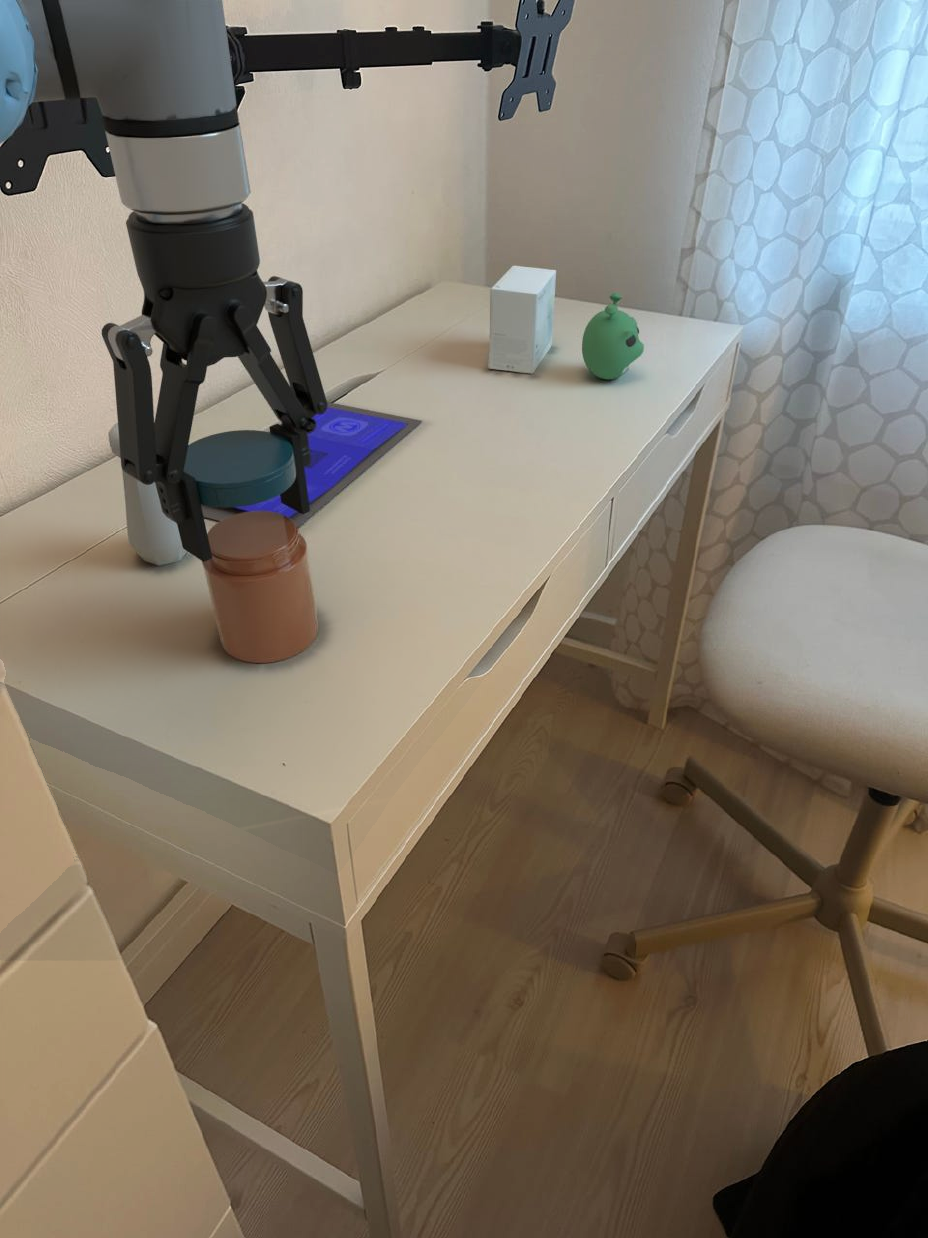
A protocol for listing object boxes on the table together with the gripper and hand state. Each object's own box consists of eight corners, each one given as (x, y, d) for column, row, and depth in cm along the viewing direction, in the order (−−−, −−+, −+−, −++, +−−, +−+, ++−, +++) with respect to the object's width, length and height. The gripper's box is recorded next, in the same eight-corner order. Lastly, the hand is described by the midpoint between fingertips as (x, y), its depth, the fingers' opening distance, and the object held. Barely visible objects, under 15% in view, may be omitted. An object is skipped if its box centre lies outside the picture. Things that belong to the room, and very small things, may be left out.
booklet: (408, 423, 104) (408, 417, 104) (285, 526, 86) (284, 520, 86) (319, 405, 108) (318, 400, 108) (184, 500, 91) (183, 494, 90)
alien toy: (637, 391, 111) (645, 310, 105) (575, 385, 112) (580, 305, 106) (643, 369, 116) (651, 291, 110) (584, 364, 118) (589, 287, 112)
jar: (223, 671, 70) (198, 570, 64) (218, 612, 76) (196, 514, 70) (324, 653, 71) (310, 552, 66) (312, 596, 78) (298, 500, 72)
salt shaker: (209, 541, 85) (180, 413, 77) (178, 574, 81) (144, 443, 73) (154, 533, 86) (120, 407, 78) (121, 565, 82) (81, 435, 74)
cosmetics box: (535, 375, 115) (538, 292, 109) (487, 369, 117) (487, 288, 110) (554, 346, 123) (557, 267, 117) (509, 341, 125) (510, 263, 118)
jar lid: (275, 512, 61) (271, 487, 60) (161, 504, 62) (155, 480, 61) (310, 455, 68) (307, 432, 67) (206, 449, 69) (201, 426, 68)
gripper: (289, 169, 62) (325, 464, 76) (-13, 231, 50) (95, 568, 64) (361, 185, 58) (384, 494, 71) (50, 256, 46) (151, 610, 59)
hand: (248, 528), depth 68 cm, fingers closed on jar lid, 8 cm apart
